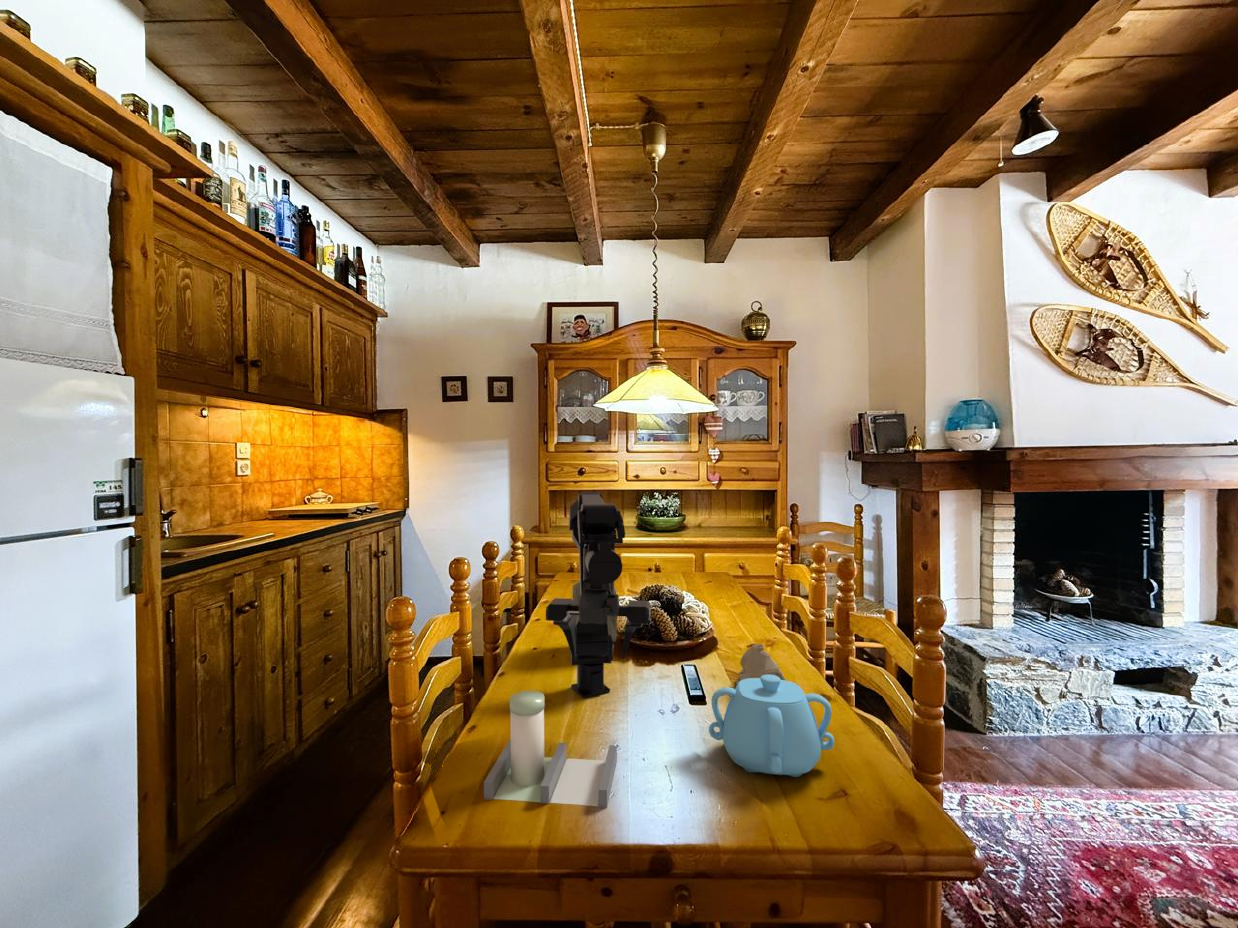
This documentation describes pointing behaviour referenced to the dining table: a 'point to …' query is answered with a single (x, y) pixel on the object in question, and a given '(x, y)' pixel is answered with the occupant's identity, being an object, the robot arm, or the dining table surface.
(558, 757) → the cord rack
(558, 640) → the dining table surface
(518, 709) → the white capped canister
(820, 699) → the decorative pot
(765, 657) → the ceramic model
